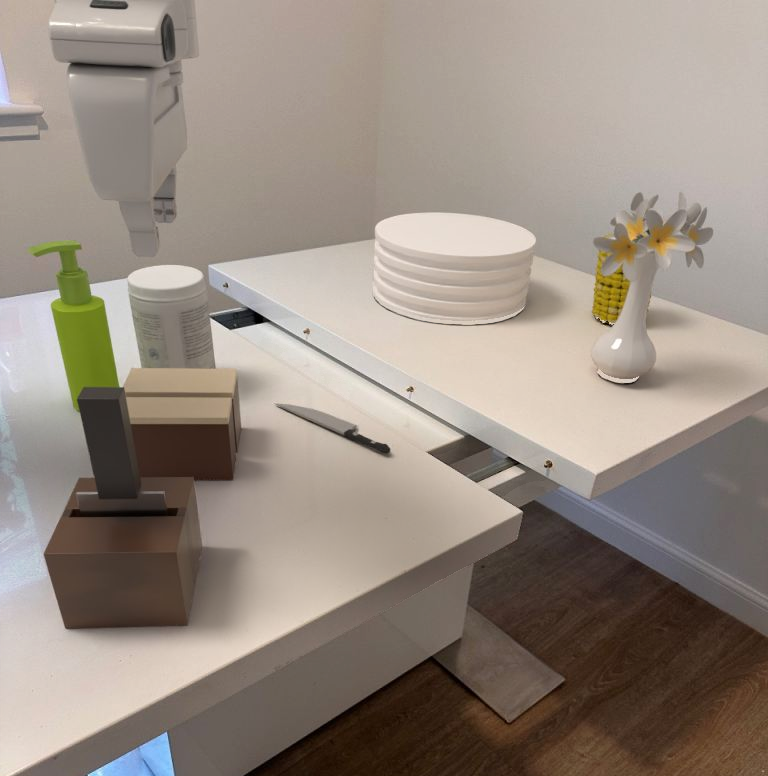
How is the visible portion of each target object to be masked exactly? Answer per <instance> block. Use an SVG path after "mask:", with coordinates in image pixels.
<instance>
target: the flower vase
mask: <svg viewBox="0 0 768 776" xmlns="http://www.w3.org/2000/svg"><path fill="white" fill-rule="evenodd" d="M658 200H659V194H655V195H653V196H652V197H651V198H650V199H647V198H644V195H643V193H642V192H639V191H638V192H637V193H636V194H635V195H634V196H633V198H632V200H631V203H630V210H629V211H628V210H626V209H619V210H618V211H617V212H616V214H615V216H614V217H613V218H612V219H611V220H610V223H609V224H610V225H611V226H613V227H614V229H613V234H611V235H610V236H609V237H607V238H606V237H604V236H595V237H594V238H593V239H592V244H593V246H594V247H595V248H596V249H597V250H598V251H599V250H600V251H602V252H605V253H612V254H611V255H609V256H608V257H607V258H606V259H605V261H604V262H603V264H602V266H601V274H602V275H603V276H610V275H612V274H613V273H614V272H616V271H617V270H618V268H619V267H620V266H621V265H622V264H623V266H622V269H623V273H624V275H625V277H626V278H627V279H628V280H629V281H631V282H630V286H629V289H628V293H627V296H626V299H625V303H624V306H623V309H622V311H621V314H620V316H619V318H618V319H617V321H616V322H615V324H614V325H611V326H610V328H609V329H608V330H607V331H605V332H603V333H601V334H600V335H599V336H598V337H597V338H596V339H595V341H594V342H593V344H592V345H591V347H590V350H589V353H590V359H591V361H592V363H593V365H594V366H595V367H596V369H597V368H598V369H600V370H601V371H602V372H603V373H604V374H606V375H608V376H611V377H614V378H619V379H633V378H636V377H638V376H640V377H641V376H643V375H645V374H646V373H649V371H651V370H652V369H653V368H654V366H655V365H656V362H657V351H656V347H655V344H654V342H653V341H652V339H651V338H650V337H649V334H648V330H647V314H646V313H648V312H647V307H648V308H649V306H648V303H649V298H650V294H651V295H652V289H653V285H654V282H655V279H656V278H655V277H656V275H657V272H658V269H660V270H661V271H667V270H669V268H670V267H671V265H672V262H673V254H672V251H673V252H678V253H684V254H685V255H684V256H685V260H686V267H687V268H690V267H691V265H692V262H693V261H694V263H695V265H696V266H697V267H698V268H699V269H702V268H703V267H704V262H705V258H704V253H703V251H702V248H701V247H700V246H702V245H705V244H707V243H709V241H710V240H711V239H712V237H713V236H714V229H713V228H712V227H710V226H708V227H703V225H704V223H705V221H706V219H707V214H708V207H706V206H705V207H704V208H702V205H701V204H700V202H698V201H696V202H692V203H691V204H690V205H689V206H688V208H687V200H686V196H685V194H684V192H683V191H682V190H680V191H679V193H678V202H677V210H676V211H674V213H672V214H670V215H668V216H666V217H665V216H664V213H663V211H662V210H661V209H659V208H656V207H655V205H656V203H657V202H658ZM679 232H680V233H681V234H678V233H679ZM644 233H645V234H647V236H643V234H644ZM638 238H639V239H638ZM623 262H624V263H623ZM650 299H651V298H650ZM649 304H650V303H649Z"/></svg>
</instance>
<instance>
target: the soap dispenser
mask: <svg viewBox="0 0 768 776" xmlns="http://www.w3.org/2000/svg"><path fill="white" fill-rule="evenodd" d="M82 250H83V248H82V244H81V243H80V242H78V241H76V240H75V239H74V240H71V239H70V240H53V241H48V242H43V243H39V244H37V245H34V246H31V247H30V248H27V250H26V251H27V252H29V254H31V255H33V256H34V257H36V258H39V257H41V256H44V255H47V254H52V253H58V255H59V258H60V263H61V268H60V269H59V270H58V271H56V273H55V277H56V278H55V279H56V281H57V286H58V291H59V296H60V297H58V298H56V299H54V300H53V301H52V302H51V303H50V308H51V313H52V317H53V323H54V327H55V332H56V336H57V340H58V344H59V349H60V354H61V357H62V363H63V366H64V370H65V375H66V380H67V384H68V389H69V393H70V397H71V403H72V407H73V409H74V410H76V411H78V412H79V413H80V411H79V406H78V402H77V398H78V396H79V394H80V392H81V391H82V389H83V387H120V382H119V376H118V370H117V365H116V359H115V354H114V348H113V343H112V337H111V331H110V326H109V321H108V317H107V315H108V314H107V310H106V304H105V301H104V299H103V298H102V297H100V296H97V295H92V289H91V286H90V279H89V274H88V271H87V270H86V269H83V268H81V267H79V263H78V257H77V254H76V251H82Z"/></svg>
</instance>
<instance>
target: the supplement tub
mask: <svg viewBox="0 0 768 776" xmlns="http://www.w3.org/2000/svg"><path fill="white" fill-rule="evenodd" d="M126 280H127V292H128V299H129V305H130V311H131V316H132V323H133V327H134V333H135V341H136V344H137V345H136V346H137V350H138V356H139V362H140V368H188V369H217V367H216V366H217V365H216V359H215V351H214V350H215V349H214V341H213V340H214V339H213V331H212V324H211V323H212V322H211V314H210V306H209V297H208V290H207V284H206V283H205V276H204V273H203V272H202V271H201V270H199V269H197V268H195V267H191V266H187V265H179V264H161V265H160V264H159V265H153V266H146V267H143V268H139V269H137V270H134V271H132V272H131V273H130V274H128V276H127V279H126Z"/></svg>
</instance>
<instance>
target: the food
mask: <svg viewBox="0 0 768 776" xmlns="http://www.w3.org/2000/svg"><path fill="white" fill-rule="evenodd" d="M613 233H614V232H613ZM613 233H611V232H610V233H607V234H605V235H604V236H603V237H606V238H607V237H609V236H610V235H611V234H613ZM642 235H643V236H647V235H648V234H647V233H646V232H645V233H643V234H642ZM638 239H639V238H638ZM611 254H612V253H605V252H602V251H600V250H599V249H598V254H597V258H598V259H597V264H596V268H595V270H596V273H595V275H594V277H595V283H594V287H593V302H592V310H591V314H592V315H593V314H594V315H595V316H594V315H593V316H594V318H595V317H599V318H600V319H601V320H604V321H608V322H611V323H615V322H616V321H617V319H618V318H619V316H620V314H621V311H622V309H623V306H624V303H625V299H626V296H627V293H628V289H629V286H630V282H631V281H629V280H628V279H627V278H626V277H625V275H624V273H623V269H622V266H623V264H622V265H621V266H620V267H619V268H618V270H617V271H616V272H614V273H613V274H612V275H610V276H603V275H602V274H601V266H602V264H603V262H604V261H605V259H606V258H607V257H608V256H609V255H611ZM623 263H624V262H623ZM651 298H652V293H651V294H650V298H649V303H648V307H647V313H646V315H648V312H649V307H650V303H651ZM608 322H607V323H608Z"/></svg>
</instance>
